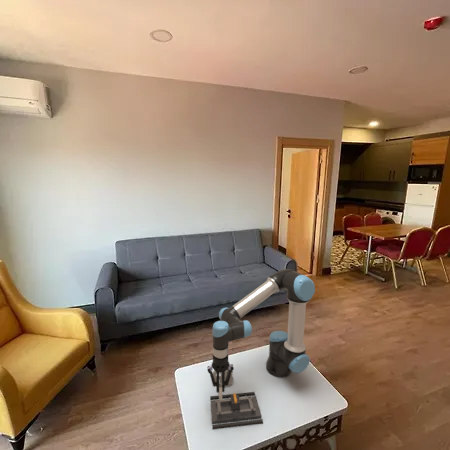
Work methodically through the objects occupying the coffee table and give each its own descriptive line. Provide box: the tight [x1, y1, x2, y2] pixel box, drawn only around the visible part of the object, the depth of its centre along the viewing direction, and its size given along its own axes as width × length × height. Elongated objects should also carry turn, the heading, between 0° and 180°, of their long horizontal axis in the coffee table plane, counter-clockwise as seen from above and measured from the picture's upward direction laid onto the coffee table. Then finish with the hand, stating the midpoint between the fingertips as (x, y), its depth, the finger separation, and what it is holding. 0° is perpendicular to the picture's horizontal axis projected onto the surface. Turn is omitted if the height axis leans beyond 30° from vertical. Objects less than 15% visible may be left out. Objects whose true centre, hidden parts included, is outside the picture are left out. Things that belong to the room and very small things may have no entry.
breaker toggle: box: [230, 392, 240, 411], centre depth 129 cm, size 4×5×6 cm
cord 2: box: [211, 418, 264, 430], centre depth 122 cm, size 24×1×1 cm, turn 97°
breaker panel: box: [210, 395, 263, 425], centre depth 130 cm, size 24×12×3 cm, turn 97°
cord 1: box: [209, 391, 256, 401], centre depth 138 cm, size 24×1×1 cm, turn 97°
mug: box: [212, 363, 234, 388], centre depth 147 cm, size 8×12×12 cm, turn 101°
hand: (220, 397), depth 128 cm, fingers closed
